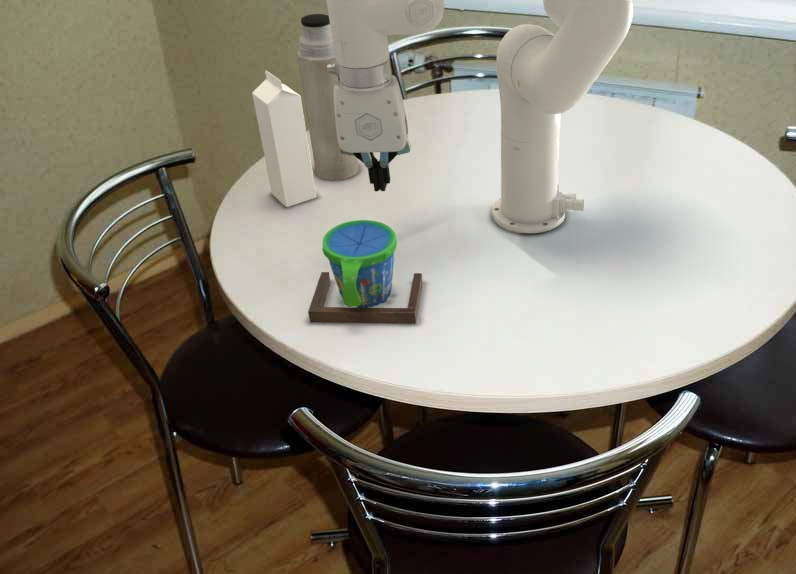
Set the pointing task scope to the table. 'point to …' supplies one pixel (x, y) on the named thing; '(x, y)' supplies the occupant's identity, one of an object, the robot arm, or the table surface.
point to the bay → (363, 314)
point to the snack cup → (361, 261)
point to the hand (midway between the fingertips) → (381, 186)
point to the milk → (284, 141)
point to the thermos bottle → (322, 98)
